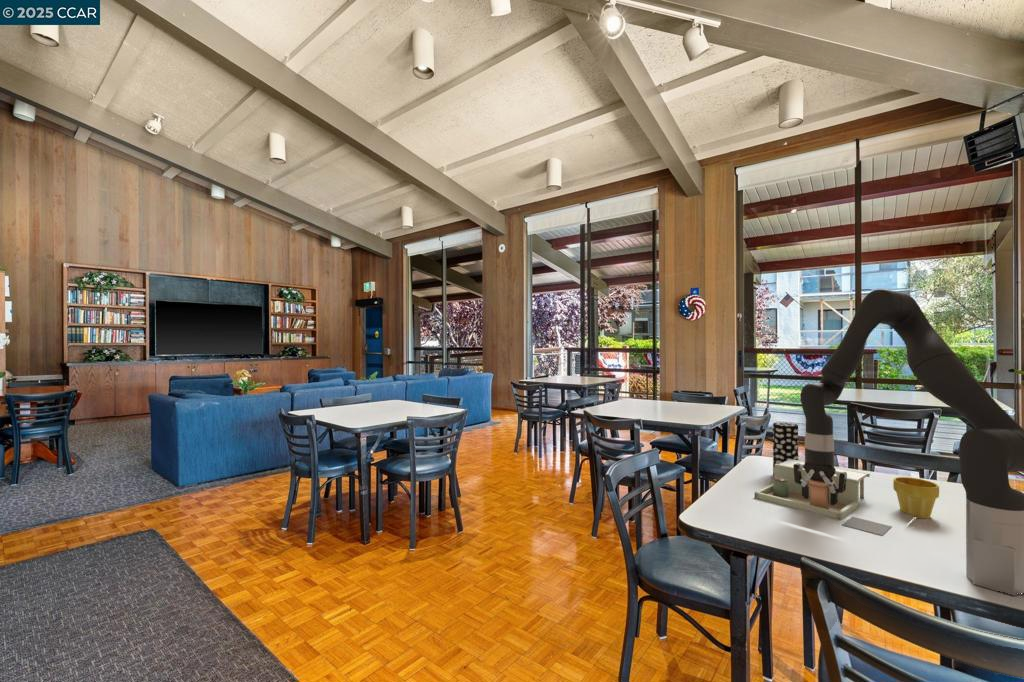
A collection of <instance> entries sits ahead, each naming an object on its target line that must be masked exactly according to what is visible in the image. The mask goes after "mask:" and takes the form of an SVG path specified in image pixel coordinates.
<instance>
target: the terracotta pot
mask: <svg viewBox="0 0 1024 682" xmlns="http://www.w3.org/2000/svg"><path fill="white" fill-rule="evenodd" d="M808 483H809V484H810V505H813V506H817V507H821V508H825V509H829V487H828V486H827V485H826V483H825V482H822V481H819V480H812V479H810V480H809V481H808Z"/></svg>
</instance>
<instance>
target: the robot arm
mask: <svg viewBox="0 0 1024 682" xmlns="http://www.w3.org/2000/svg"><path fill="white" fill-rule="evenodd" d="M880 324H882V325H888V326H889V327H890V328H892V329H893V330H894V331H895V332H896V334H897V335H898V336H899V337H900V338H901V340H902V341H903V342H904V345H905V347H906V348H905V349H906V359H907V364H908V367H909V369H910V370H911V372H912V374H913V376H914V377H915V378H916V379H917V380H918V382H919V383H920V385H921V386H922V387H923V388H924V390H926V392H927V393H929V394H931V396H933V397H934V398H935V399H938V400H939V401H941V403H943V404H944V405H947V406H948V407H949V408H951V409H953V410H954V411H956V412H958V414H960V415H961V416H963V417H964V418H965V419H966V420H967V421H968V422H969V423H970V424H971V425H972V426H973V429H969V430H967V431H965V432H964V434H963V435H962V436H961V438H960V440H959V446H958V457H959V471H960V480H961V484H962V487H963V488H964V491H965V508H966V509H965V539H966V541H965V544H966V545H965V553H966V555H965V561H966V562H965V566H966V567H965V569H966V572H965V575H966V577H967V578H968V579H969V580H970V581H971V580H972V581H971V582H972V584H973V585H976V586H980V587H982V588H986V589H990V590H992V591H996V592H997V591H998V592H999V591H1000V593H1003V592H1005V593H1004V594H1006V593H1008V594H1007V595H1010V594H1012V595H1011V596H1013V595H1016V596H1017V595H1024V594H1023V593H1024V492H1022V491H1020V490H1018V489H1015V488H1013V487H1011V485H1010V480H1009V479H1010V478H1009V473H1019V472H1024V428H1023V427H1022V425H1020V424H1019V423H1018V422H1017V421H1016V420H1015V419H1014V418H1013V417H1011V416H1010V414H1008V412H1006V411H1005V409H1003V407H1001V406H1000V405H999V403H998V402H996V401H995V399H994V398H993V397H992V396H991V395H990V393H989V392H988V391H987V390H986V388H984V386H983V385H982V384H981V383H980V382H979V381H978V379H976V377H975V376H974V375H973V374H972V373H971V371H970V370H969V368H968V367H967V366H966V364H964V362H963V360H962V359H960V357H959V356H958V355H957V354H956V352H954V351H953V349H952V348H951V347H950V346H949V344H947V343H946V341H945V340H944V339H943V337H941V335H940V334H939V332H937V331H936V330H935V329H934V327H933V326H932V324H931V323H930V321H929V320H928V319H927V317H926V314H924V312H923V309H921V307H920V305H919V304H918V302H917V301H916V300H915V298H913V296H911V295H909V294H907V293H906V292H901V291H897V290H892V289H886V288H885V289H884V288H877V289H873V290H872V291H870V292H868V294H866V295H865V296H864V298H863V299H862V300H861V302H860V304H859V306H858V308H857V310H856V311H855V314H854V316H853V318H852V320H851V321H850V324H849V326H848V327H847V330H846V332H845V334H844V336H843V338H841V339H842V340H840V343H839V344H838V346H837V348H836V349H835V350H834V352H833V354H832V355H831V356H830V357H829V358H828V359H827V362H825V364H824V365H823V367H822V369H820V370H821V371H820V374H821V376H822V378H821V380H820V381H819V382H812V383H808V384H806V385H804V386H803V387H802V389H801V391H800V399H799V400H800V402H801V408H802V411H803V415H804V418H805V435H804V462H805V464H804V465H803V464H800V463H796V464H794V465H793V467H794V478H795V483H798V484H800V485H801V486H802V496H804V499H808V498H809V486H808V484H809V483H808V481H809V480H810V479H812V480H819V481H822V482H825V483H826V485H827V486H828V487H829V489H830V490H831V493H830V504H831V505H833V506H834V505H835V504H836V503H837V502H838V493H842V492H844V491H845V490H846V480H847V473H846V472H840V471H836V470H835V468H834V467H835V439H834V422H833V421H834V419H833V417H832V416H831V415H830V414H827V412H826V410H825V409H826V408H825V406H829V405H832V404H833V403H835V402H836V401H837V400H838V399H839V398H840V396H841V395H842V393H843V390H844V388H845V386H846V383H847V381H848V380H849V379H850V378H851V377H852V375H853V374H854V373H855V371H856V370H857V369H858V367H859V366H860V364H861V363H862V361H863V359H864V354H865V346H866V343H867V340H868V338H869V336H870V335H871V333H872V332H873V331H874V330H875V328H877V326H879V325H880ZM803 468H804V470H805V471H806V472H807V476H806V477H805V478H804V480H802V475H801V471H802V470H803ZM835 474H836V475H837V478H838V479H839V486H838V488H837V486H836V485H835V481H834V480H833V478H832V477H833V476H834V475H835ZM1017 593H1018V594H1017ZM1021 593H1022V594H1021Z"/></svg>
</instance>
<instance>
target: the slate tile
mask: <svg viewBox="0 0 1024 682" xmlns="http://www.w3.org/2000/svg"><path fill="white" fill-rule="evenodd" d="M841 526H843V527H847V528H851V529H854V530H858V531H861V532H866V533H869V534H872V535H873V534H874V535H877V536H881V537H883V536H884V535H885V534H886V533H887V532H888V531H889V530H891V529H892V527H893V526H891V525H888V524H883V523H879V522H875V521H873V520H872V521H871V520H867V519H864V518H859V517H855V516H851V517H850V518H848V519H847V520H846V521H844V523H842V524H841Z"/></svg>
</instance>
